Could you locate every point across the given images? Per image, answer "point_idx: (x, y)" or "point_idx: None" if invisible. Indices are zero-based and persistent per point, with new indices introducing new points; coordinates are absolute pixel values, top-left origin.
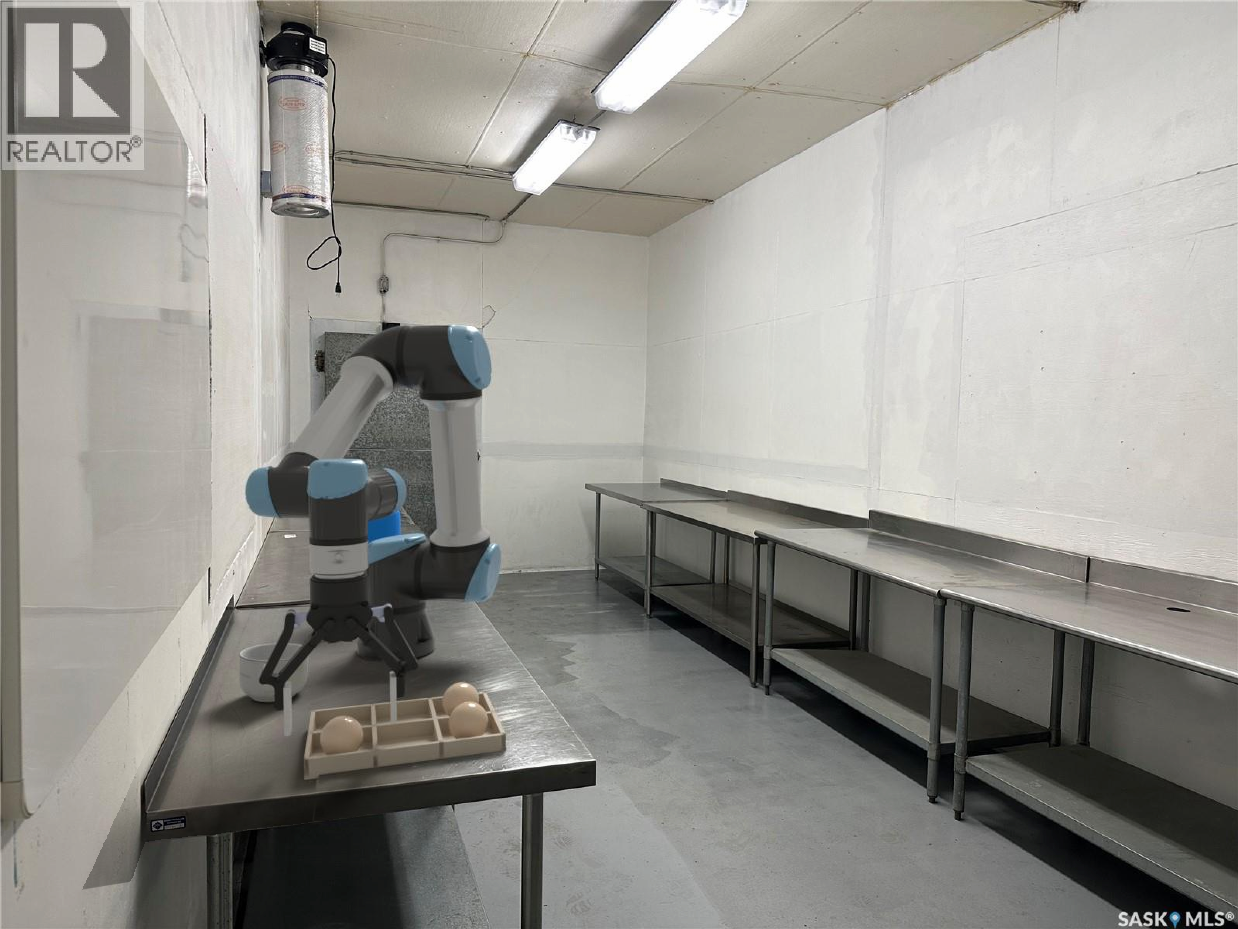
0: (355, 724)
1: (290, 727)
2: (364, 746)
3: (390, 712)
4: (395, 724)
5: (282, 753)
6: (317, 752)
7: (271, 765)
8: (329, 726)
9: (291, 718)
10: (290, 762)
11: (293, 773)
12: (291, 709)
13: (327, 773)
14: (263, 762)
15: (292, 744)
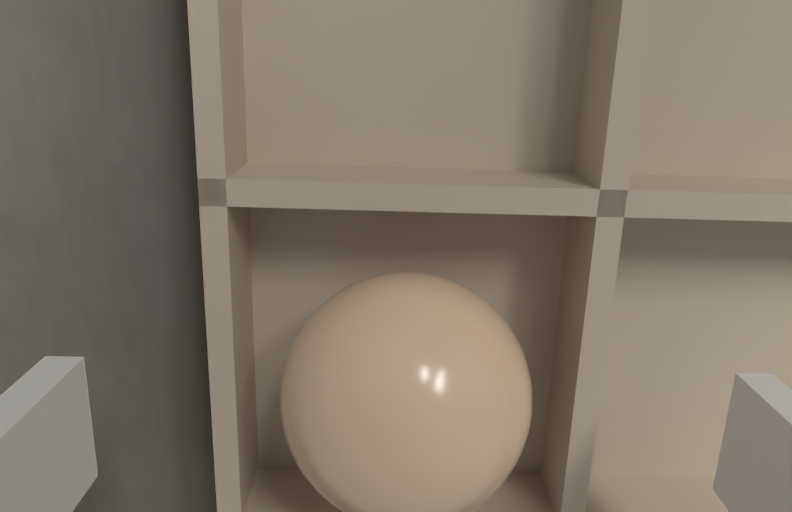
0: (495, 488)
1: (73, 495)
2: (522, 250)
3: (753, 437)
4: (743, 220)
5: (91, 138)
6: (278, 248)
7: (64, 274)
8: (329, 490)
9: (47, 425)
10: (153, 269)
11: (186, 393)
12: (9, 448)
13: None
14: (15, 224)
15: (125, 22)
